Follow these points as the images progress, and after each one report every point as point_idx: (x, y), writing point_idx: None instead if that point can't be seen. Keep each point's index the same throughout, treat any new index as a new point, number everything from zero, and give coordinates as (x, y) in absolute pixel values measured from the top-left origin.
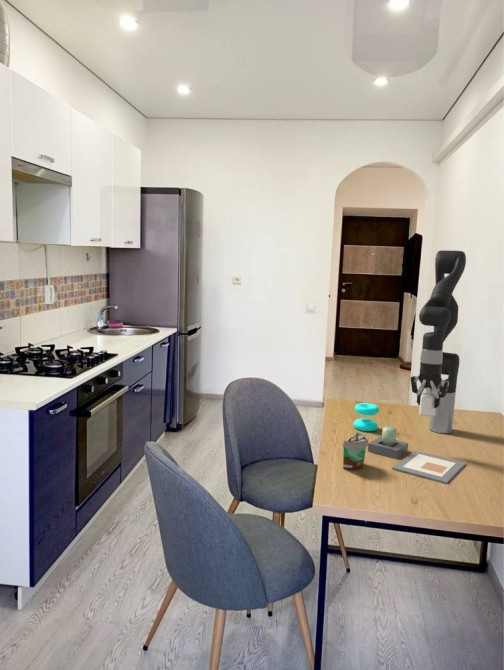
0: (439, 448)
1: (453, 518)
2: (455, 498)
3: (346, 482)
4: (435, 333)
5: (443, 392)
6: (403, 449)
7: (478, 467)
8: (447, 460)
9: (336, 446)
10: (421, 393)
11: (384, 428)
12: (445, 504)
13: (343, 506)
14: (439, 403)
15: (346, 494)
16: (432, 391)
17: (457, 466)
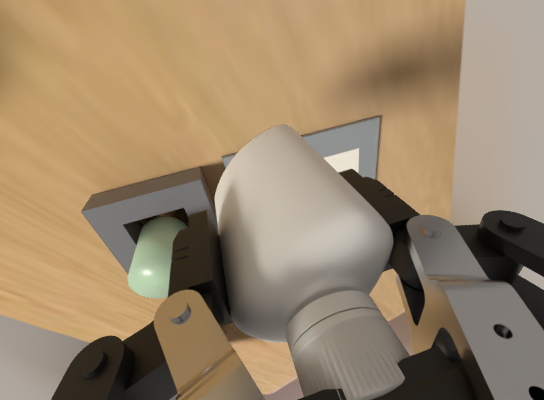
0: (253, 25)
1: (398, 311)
2: (391, 276)
3: (247, 360)
4: None
5: (539, 318)
6: (214, 211)
7: (410, 105)
8: (334, 147)
9: (62, 309)
10: (214, 314)
11: (148, 292)
12: (383, 298)
13: (290, 380)
14: (387, 196)
15: (273, 370)
16: (386, 325)
17: (367, 165)
